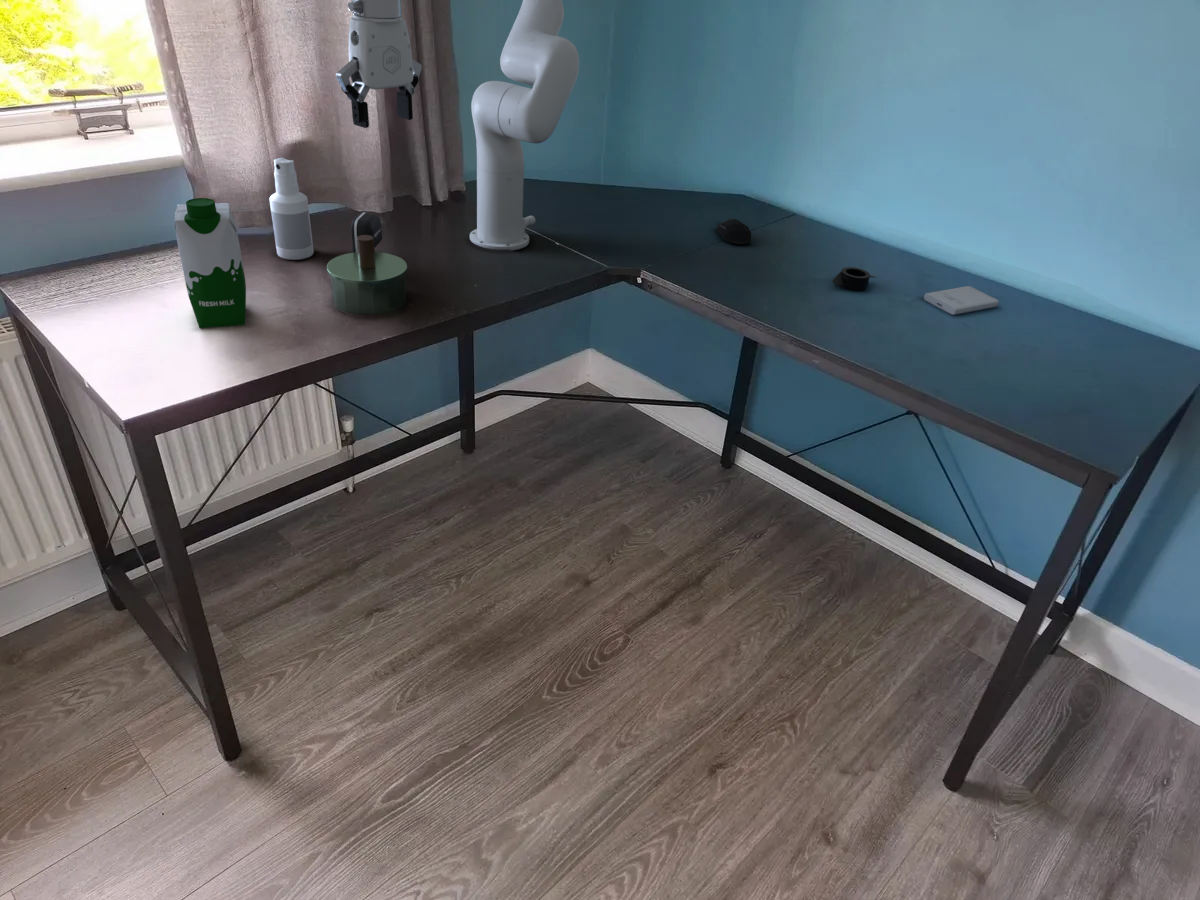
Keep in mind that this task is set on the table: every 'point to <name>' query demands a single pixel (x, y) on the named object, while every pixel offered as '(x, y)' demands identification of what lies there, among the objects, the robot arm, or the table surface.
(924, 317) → the table surface
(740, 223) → the gaming mouse
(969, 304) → the hard drive
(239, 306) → the milk carton
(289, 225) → the spray bottle
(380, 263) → the lid
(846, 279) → the duct tape
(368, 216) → the battery charger
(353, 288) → the pot
